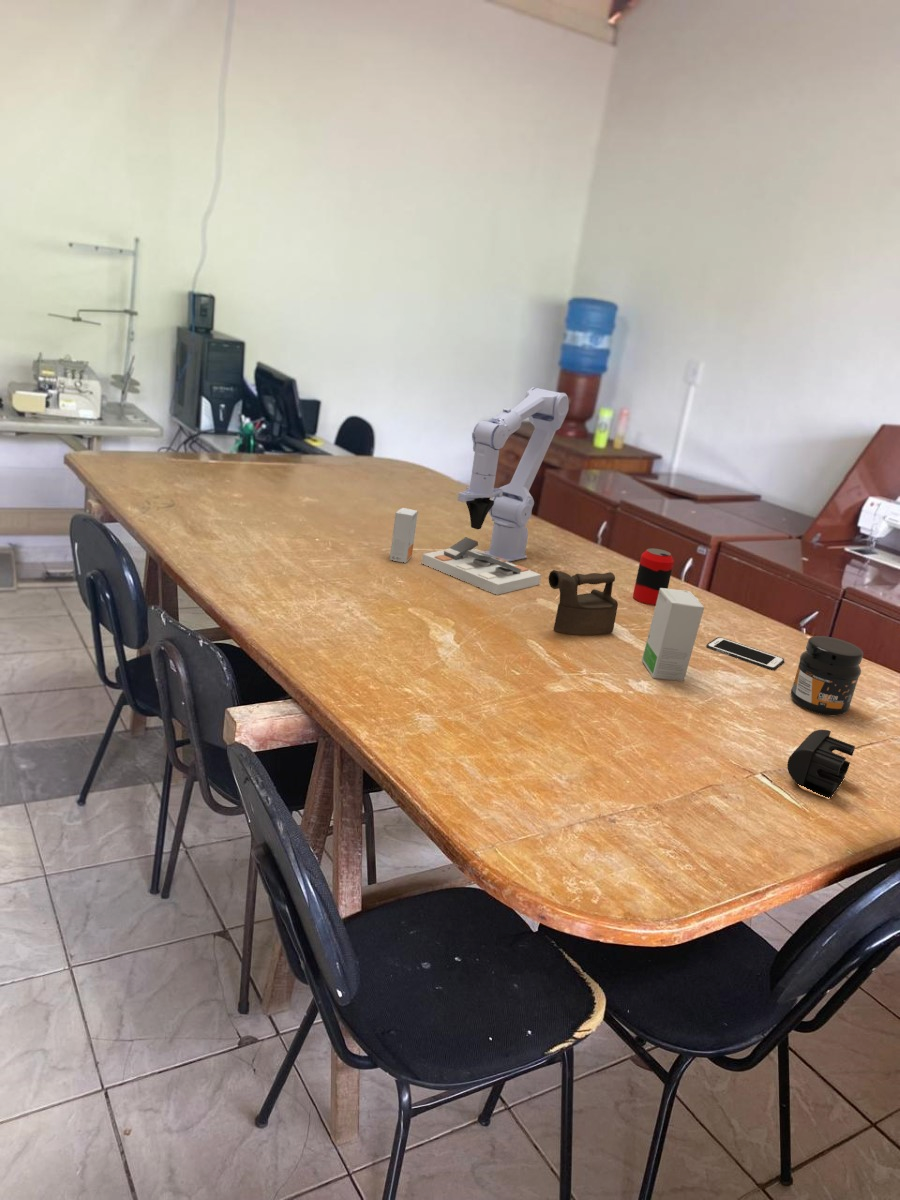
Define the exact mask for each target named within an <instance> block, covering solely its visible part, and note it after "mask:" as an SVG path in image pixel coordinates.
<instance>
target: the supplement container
mask: <svg viewBox="0 0 900 1200" xmlns="http://www.w3.org/2000/svg"><path fill="white" fill-rule="evenodd" d="M863 657H864V652H863V650H862V649H861V648H859V646H857V645H855V644H853V643H852V642H848V641H846V640H843V639H839V638H836V637H830V636H824V635H816V636H815V635H814V636H811V637H809V638H808V640H807V644H806V646H805V651H803V652H802V653H801V654H800V656H799V663H798V667H797V670H796V673H795V676H794V680H793V684H792V687H791V689H790V697H791V698H792V700H793V701H794V703H795V704H797V705H798V706H799V707H801V708H803V709H805V710H808V711H810V712H812V711H813V713H815V712H816V713H815V714H819V713H820V715H823V714H824V716H830V715H836V716H841V715H844V714H846V713H847V712H848V711H849V710H850V707H851V702H852V699H853V696H854V694H855V693H854V692H855V689H856V687H857V684H858V680H859V678H860V676H861V675H862V668H861V666H860V665H861V663H862V659H863Z"/></svg>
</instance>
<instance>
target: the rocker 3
mask: <svg viewBox="0 0 900 1200" xmlns="http://www.w3.org/2000/svg"><path fill="white" fill-rule="evenodd" d="M489 562H492V563H494V564H497V565H499V566H502V567H505V568H507V569H510V570H512V571H515V572H517V573H520V572H521V569H519V568H516V567H514V566H511V565H509V564H507V563H506V562H503V561H500V560H498V559H495V558H493V557H490V558H489Z"/></svg>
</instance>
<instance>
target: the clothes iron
mask: <svg viewBox="0 0 900 1200" xmlns="http://www.w3.org/2000/svg"><path fill="white" fill-rule="evenodd" d="M615 581H616V576H615V574H614V573H613V572H610V571H609V572H605V573H598V572H592V573H585V574H584V573H575V574H573V575H571V574H568V573H567V572H564V571H562V570H556V569H553V570H551V571H550V572H549V575H548V585H549V586H550V588H552V589H553V590H559V602H558V605H557V610H556V615H555V620H554V626H553V631H555V632H557V633H561V634H567V635H574V636H576V635H577V636H598V635H599V636H600V635H608V634H612V633H613V631H614V628H615V622H616V616H617V612H618V611H617V610H618V605H619V603H618V601H617V600H616V599H615V598H613V596H612V592H613V583H614V582H615ZM585 584H588V585H600V584H605V585H604V588H603V591H601V590H598V589H595V588H594V589H592V590H591V591H590V592H589V593H587V592H586V593H581V594H580V593H579V594H578V588H579V587H578V586H581V585H585Z"/></svg>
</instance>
